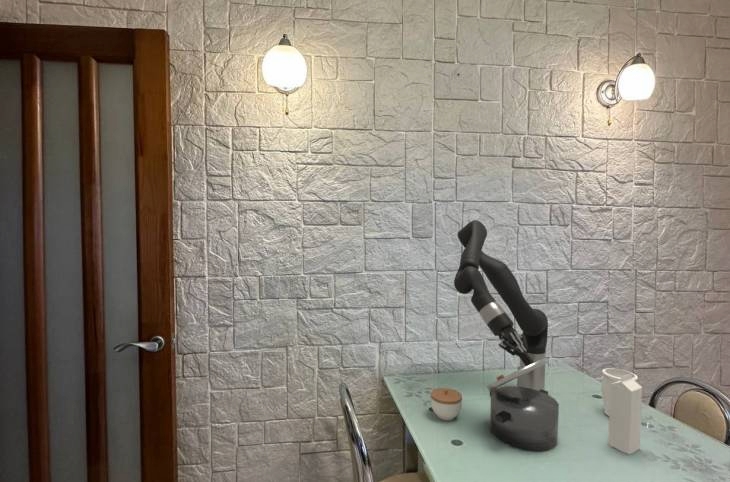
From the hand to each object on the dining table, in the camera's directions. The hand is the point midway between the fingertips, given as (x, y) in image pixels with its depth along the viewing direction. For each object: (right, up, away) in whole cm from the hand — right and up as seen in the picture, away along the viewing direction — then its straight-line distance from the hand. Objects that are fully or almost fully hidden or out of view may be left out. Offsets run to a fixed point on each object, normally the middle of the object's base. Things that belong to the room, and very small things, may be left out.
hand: (530, 364), depth 120 cm
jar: (+37, -23, +15) cm, 46 cm away
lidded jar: (-24, -22, +13) cm, 35 cm away
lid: (-2, -5, +3) cm, 7 cm away
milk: (+26, -24, -5) cm, 36 cm away
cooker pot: (-1, -23, +3) cm, 23 cm away
